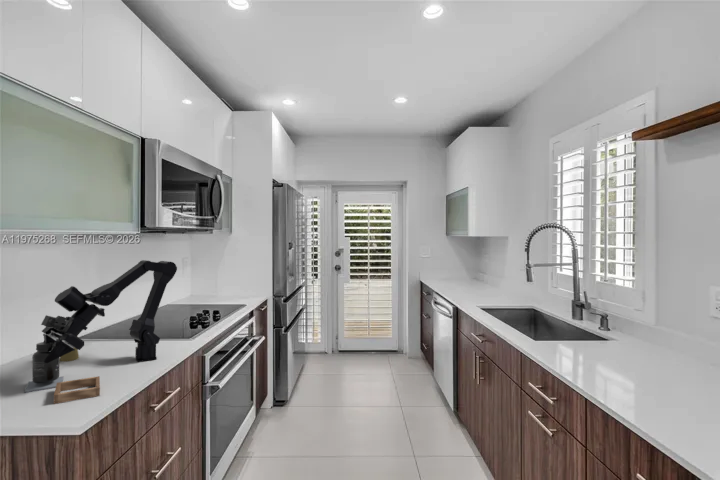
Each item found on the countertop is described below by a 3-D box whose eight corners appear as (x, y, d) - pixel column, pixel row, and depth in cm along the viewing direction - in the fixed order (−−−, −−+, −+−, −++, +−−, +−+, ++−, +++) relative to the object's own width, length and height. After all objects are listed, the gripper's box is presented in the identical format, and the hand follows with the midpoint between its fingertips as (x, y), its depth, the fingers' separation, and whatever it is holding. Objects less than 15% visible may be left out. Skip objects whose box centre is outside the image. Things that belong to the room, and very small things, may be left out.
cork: (68, 362, 146) (68, 333, 146) (55, 360, 148) (55, 332, 147) (82, 357, 152) (83, 329, 152) (70, 356, 154) (70, 328, 153)
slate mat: (63, 377, 131) (63, 376, 131) (61, 386, 124) (61, 385, 124) (28, 383, 126) (28, 381, 126) (24, 392, 119) (24, 391, 119)
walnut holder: (99, 383, 127) (99, 376, 127) (99, 395, 118) (99, 387, 118) (56, 390, 121) (56, 382, 121) (53, 403, 112) (53, 395, 112)
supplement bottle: (64, 378, 126) (63, 341, 126) (39, 385, 120) (39, 346, 120) (52, 374, 129) (52, 339, 129) (27, 381, 123) (27, 344, 123)
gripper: (49, 302, 133) (7, 341, 124) (73, 309, 123) (29, 352, 114) (75, 320, 140) (37, 359, 131) (100, 328, 130) (61, 371, 121)
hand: (40, 360), depth 124 cm, fingers closed on supplement bottle, 7 cm apart
